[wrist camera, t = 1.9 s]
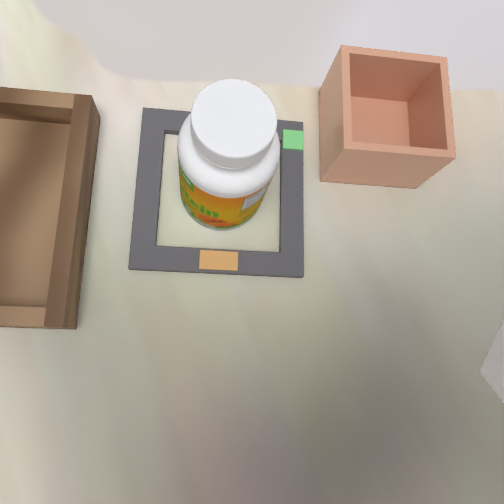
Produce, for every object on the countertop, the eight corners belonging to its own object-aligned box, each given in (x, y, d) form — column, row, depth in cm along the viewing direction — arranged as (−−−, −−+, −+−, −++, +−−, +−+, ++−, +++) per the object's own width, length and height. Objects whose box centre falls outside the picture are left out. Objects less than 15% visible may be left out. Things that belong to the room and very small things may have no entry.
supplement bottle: (163, 191, 28) (148, 112, 19) (220, 140, 30) (233, 43, 20) (221, 248, 28) (235, 196, 19) (277, 194, 30) (316, 120, 20)
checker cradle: (301, 125, 31) (303, 120, 30) (301, 277, 28) (304, 276, 28) (144, 111, 30) (142, 105, 29) (129, 269, 27) (127, 267, 26)
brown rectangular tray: (100, 117, 29) (91, 95, 27) (75, 329, 26) (63, 326, 23) (-44, 105, 28) (-68, 80, 25) (-89, 324, 25) (-121, 320, 22)
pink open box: (409, 101, 33) (446, 57, 28) (415, 188, 31) (456, 158, 26) (318, 92, 32) (341, 45, 27) (319, 181, 30) (344, 148, 25)
